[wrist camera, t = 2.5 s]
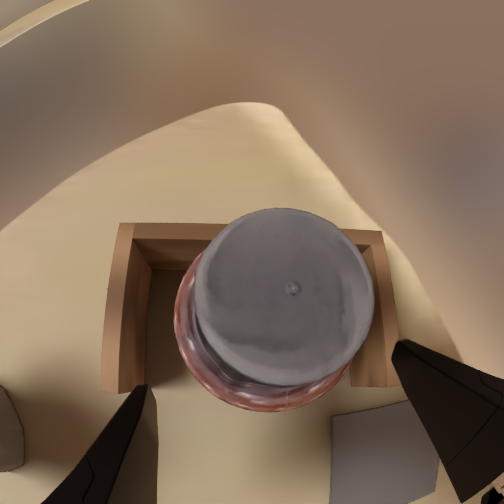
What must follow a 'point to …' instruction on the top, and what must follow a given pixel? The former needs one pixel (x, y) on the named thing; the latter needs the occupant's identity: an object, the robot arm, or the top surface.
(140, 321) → the crate
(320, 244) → the supplement bottle
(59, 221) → the top surface
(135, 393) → the robot arm
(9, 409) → the coffeepot
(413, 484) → the mat
